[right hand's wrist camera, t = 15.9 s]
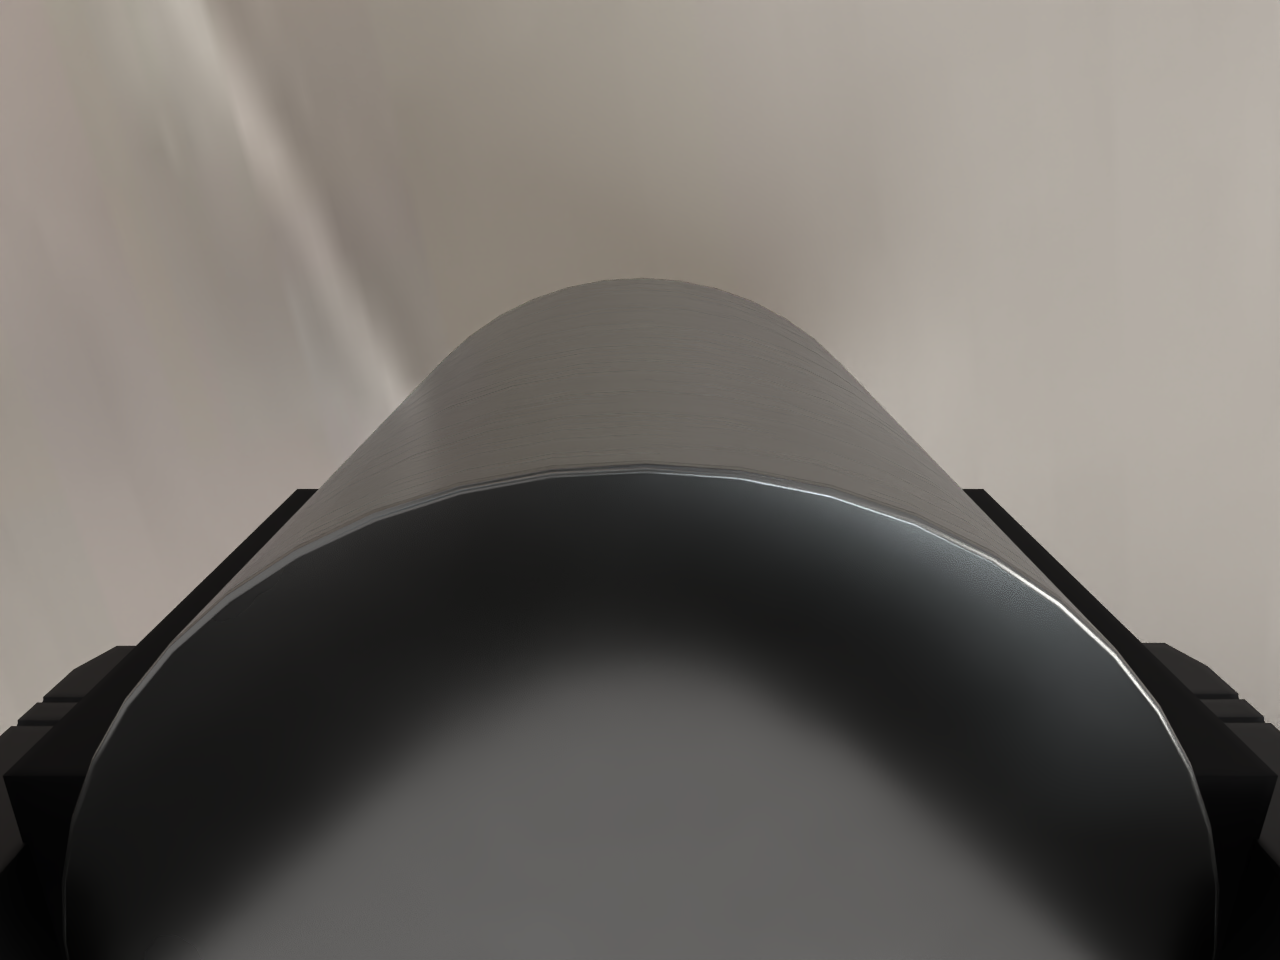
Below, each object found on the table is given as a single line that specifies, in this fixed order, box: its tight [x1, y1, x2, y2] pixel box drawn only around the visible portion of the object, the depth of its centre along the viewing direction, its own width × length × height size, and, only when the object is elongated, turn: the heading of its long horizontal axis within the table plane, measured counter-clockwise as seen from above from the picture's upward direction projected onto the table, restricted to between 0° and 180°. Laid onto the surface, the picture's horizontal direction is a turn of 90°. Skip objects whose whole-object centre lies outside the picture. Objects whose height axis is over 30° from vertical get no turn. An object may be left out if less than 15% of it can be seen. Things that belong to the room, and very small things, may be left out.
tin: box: [62, 278, 1220, 960], centre depth 11 cm, size 9×9×9 cm
